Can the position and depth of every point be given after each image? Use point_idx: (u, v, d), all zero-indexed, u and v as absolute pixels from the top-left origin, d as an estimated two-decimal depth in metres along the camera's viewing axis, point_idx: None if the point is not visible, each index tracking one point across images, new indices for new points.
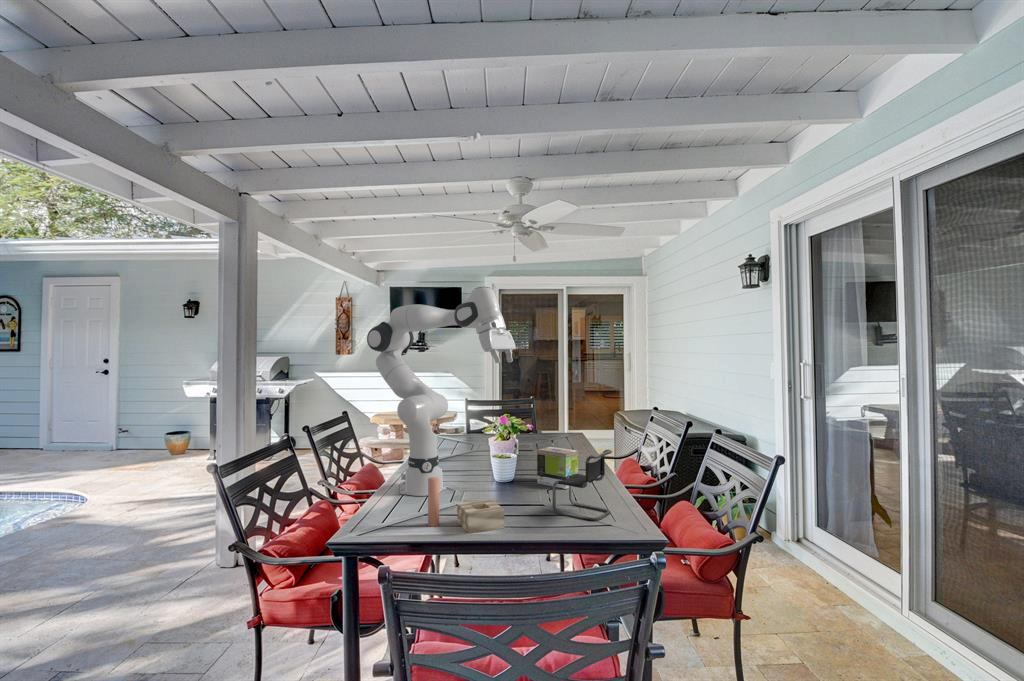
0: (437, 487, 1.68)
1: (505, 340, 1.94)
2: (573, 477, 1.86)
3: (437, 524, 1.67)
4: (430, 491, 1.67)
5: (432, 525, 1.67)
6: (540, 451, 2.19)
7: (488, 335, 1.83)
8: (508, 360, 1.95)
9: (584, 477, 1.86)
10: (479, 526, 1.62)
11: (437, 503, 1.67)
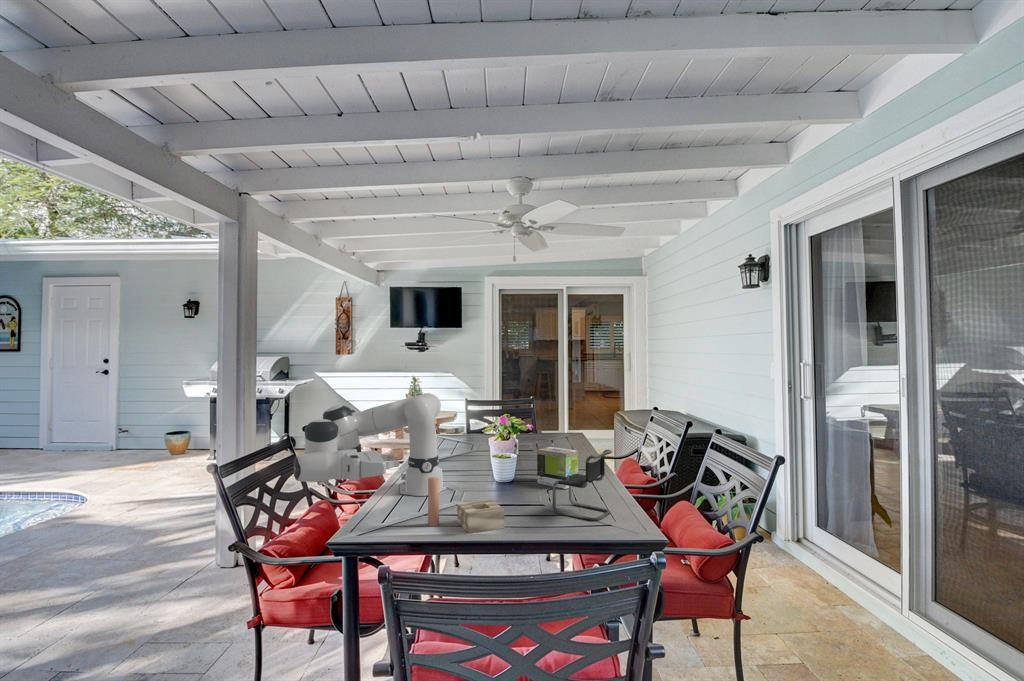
0: (437, 487, 1.68)
1: (369, 455, 1.63)
2: (573, 477, 1.86)
3: (437, 524, 1.67)
4: (430, 491, 1.67)
5: (432, 525, 1.67)
6: (540, 451, 2.19)
7: (368, 463, 1.51)
8: (391, 458, 1.67)
9: (584, 477, 1.86)
10: (479, 526, 1.62)
11: (437, 503, 1.67)
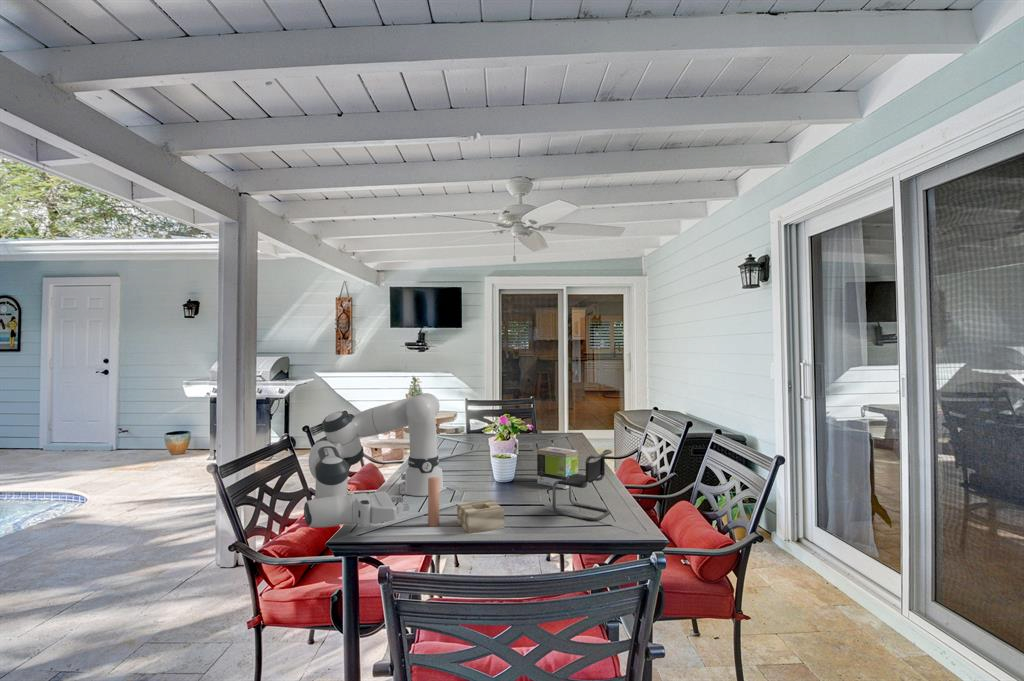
0: (437, 487, 1.68)
1: (379, 497, 1.64)
2: (573, 477, 1.86)
3: (437, 524, 1.67)
4: (430, 491, 1.67)
5: (432, 525, 1.67)
6: (540, 451, 2.19)
7: (379, 509, 1.52)
8: (401, 500, 1.68)
9: (584, 477, 1.86)
10: (479, 526, 1.62)
11: (437, 503, 1.67)
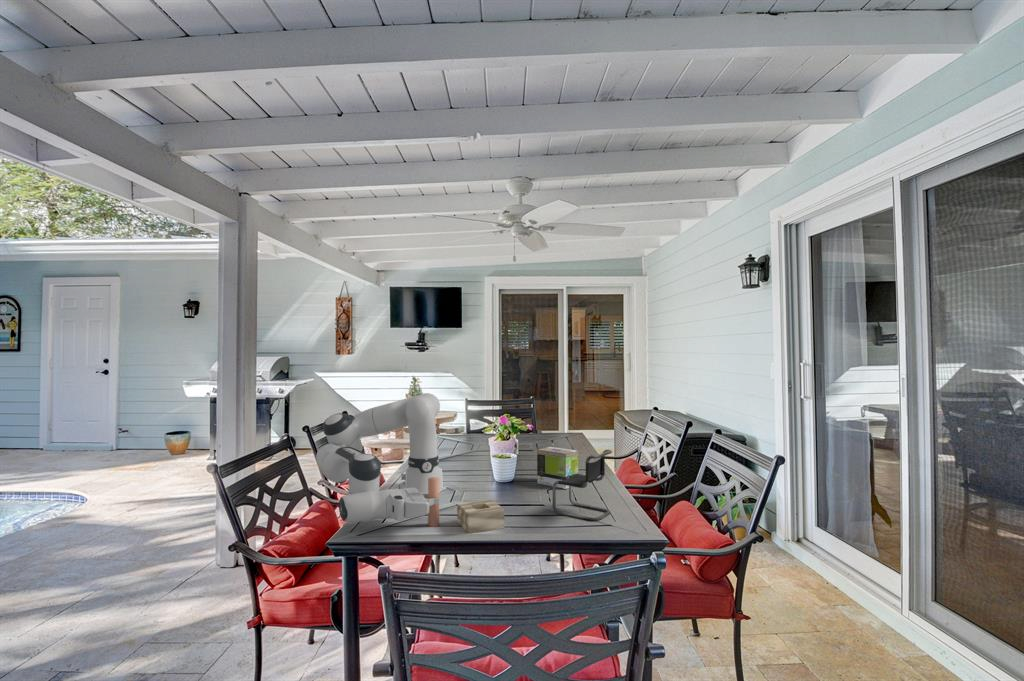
0: (437, 487, 1.68)
1: (410, 493, 1.68)
2: (573, 477, 1.86)
3: (437, 524, 1.67)
4: (430, 491, 1.67)
5: (432, 525, 1.67)
6: (540, 451, 2.19)
7: (413, 504, 1.56)
8: None
9: (584, 477, 1.86)
10: (479, 526, 1.62)
11: None
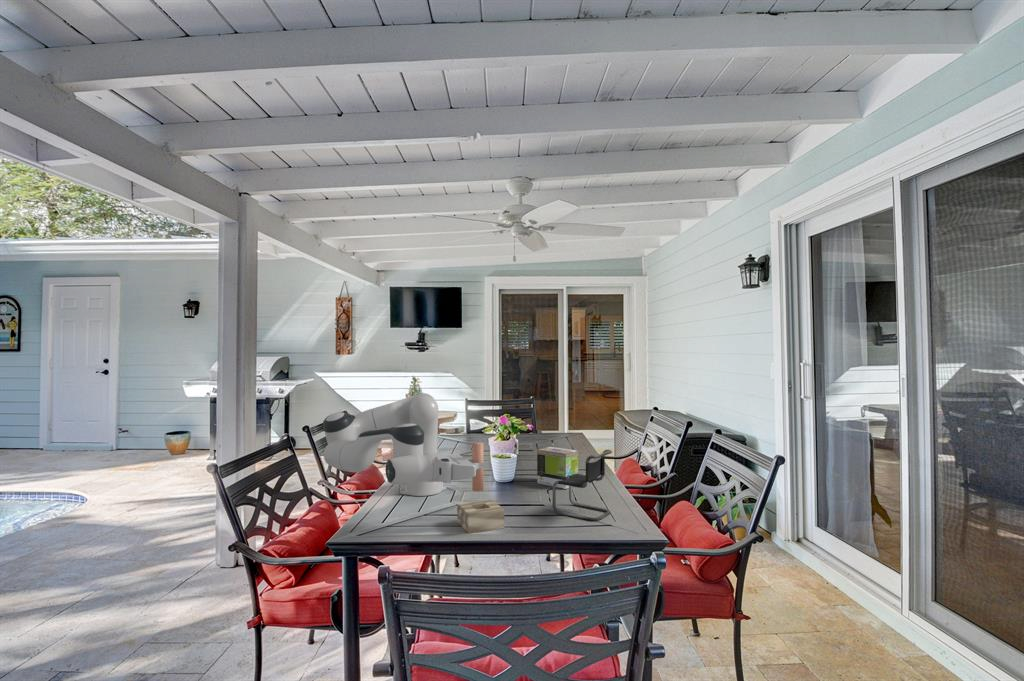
0: (481, 452, 1.67)
1: (454, 458, 1.68)
2: (573, 477, 1.86)
3: (481, 489, 1.67)
4: (475, 456, 1.67)
5: (477, 490, 1.66)
6: (540, 451, 2.19)
7: (460, 466, 1.56)
8: None
9: (584, 477, 1.86)
10: (479, 526, 1.62)
11: (481, 468, 1.67)
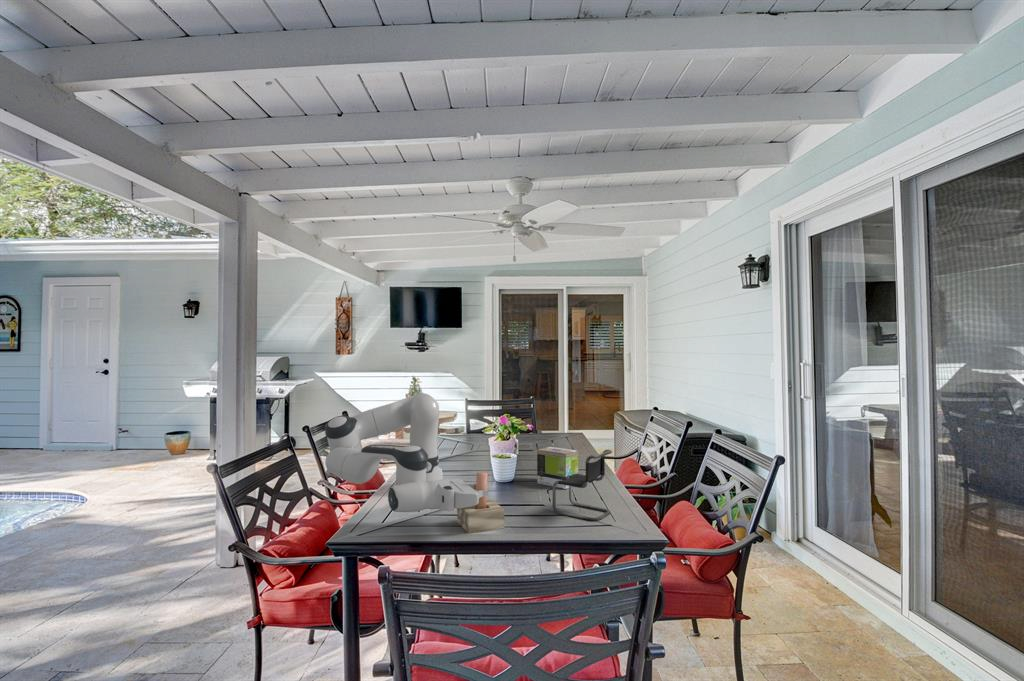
0: (485, 482, 1.67)
1: (457, 484, 1.68)
2: (573, 477, 1.86)
3: None
4: (478, 486, 1.67)
5: None
6: (540, 451, 2.19)
7: (463, 494, 1.56)
8: None
9: (584, 477, 1.86)
10: (479, 526, 1.62)
11: (485, 498, 1.67)
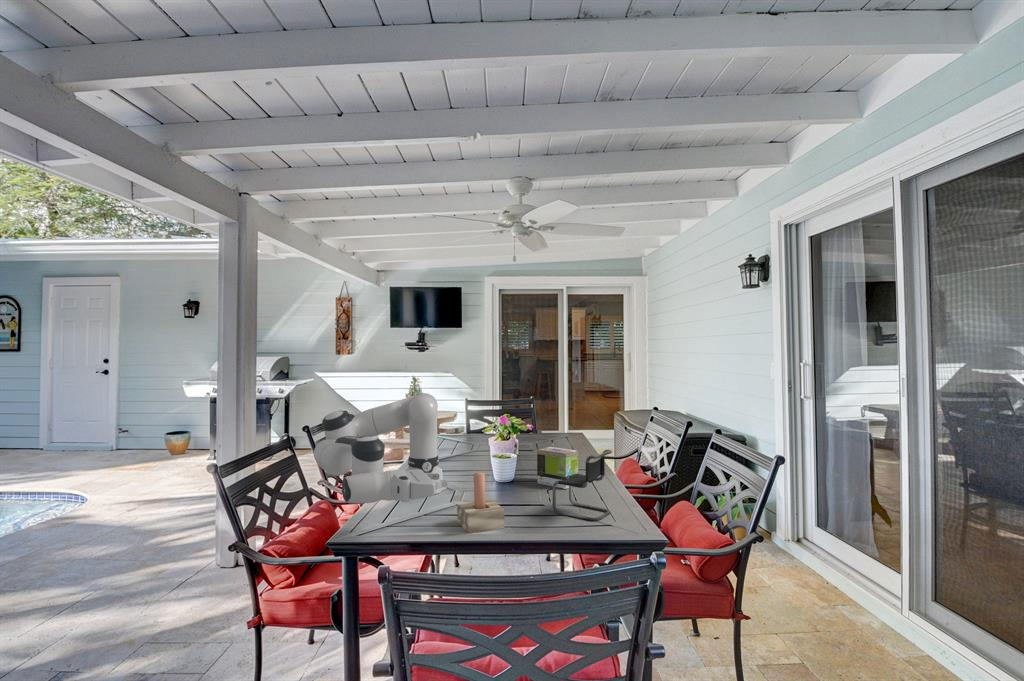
0: (483, 482, 1.67)
1: (415, 474, 1.62)
2: (573, 477, 1.86)
3: None
4: (476, 486, 1.67)
5: None
6: (540, 451, 2.19)
7: (418, 484, 1.50)
8: (437, 477, 1.66)
9: (584, 477, 1.86)
10: (479, 526, 1.62)
11: (483, 498, 1.67)
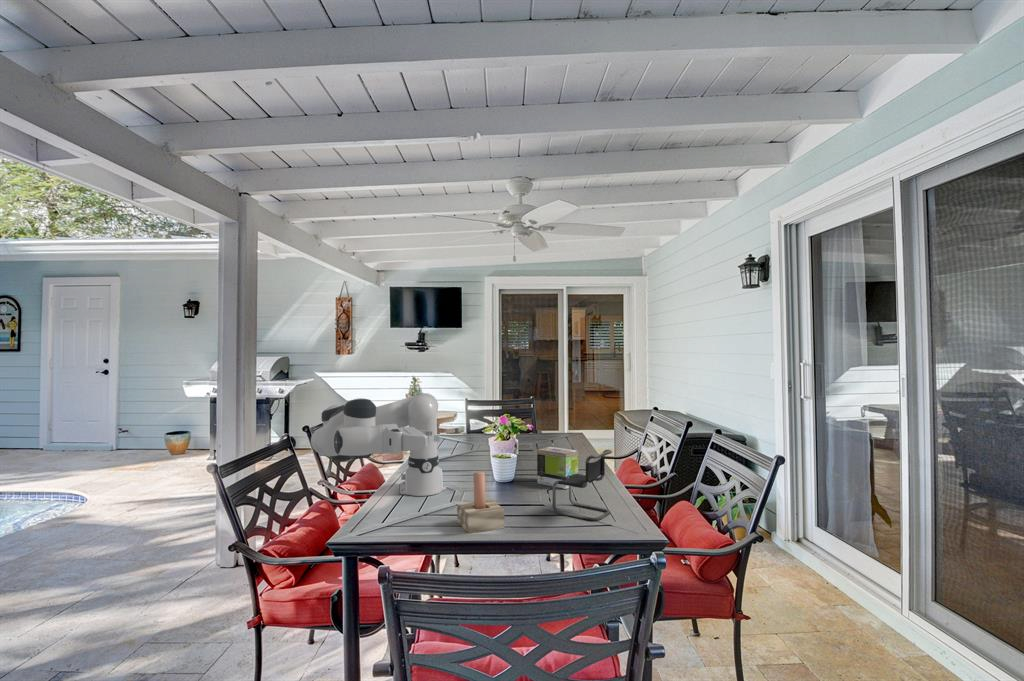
0: (483, 481, 1.68)
1: (408, 430, 1.62)
2: (573, 477, 1.86)
3: None
4: (476, 486, 1.67)
5: None
6: (540, 451, 2.19)
7: (410, 436, 1.50)
8: (429, 434, 1.66)
9: (584, 477, 1.86)
10: (479, 526, 1.62)
11: (483, 498, 1.68)
